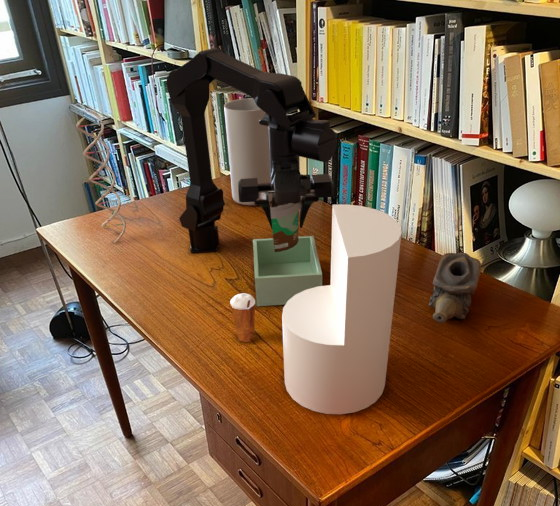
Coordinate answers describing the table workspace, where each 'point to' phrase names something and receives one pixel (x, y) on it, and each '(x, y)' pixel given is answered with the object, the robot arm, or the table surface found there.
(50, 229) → the table surface
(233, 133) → the cylinder vase
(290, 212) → the food container
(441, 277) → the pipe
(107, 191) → the dna model
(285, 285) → the light green open box
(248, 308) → the milkshake
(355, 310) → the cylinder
